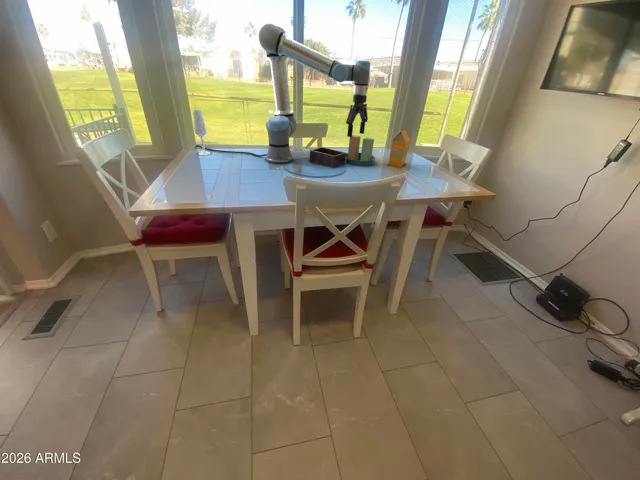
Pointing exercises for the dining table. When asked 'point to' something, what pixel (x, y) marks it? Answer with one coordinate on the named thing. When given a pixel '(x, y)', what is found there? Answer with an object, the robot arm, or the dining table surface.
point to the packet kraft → (354, 147)
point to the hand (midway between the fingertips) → (355, 135)
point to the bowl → (358, 162)
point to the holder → (327, 157)
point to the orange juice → (399, 149)
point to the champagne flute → (199, 128)
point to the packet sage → (367, 149)
